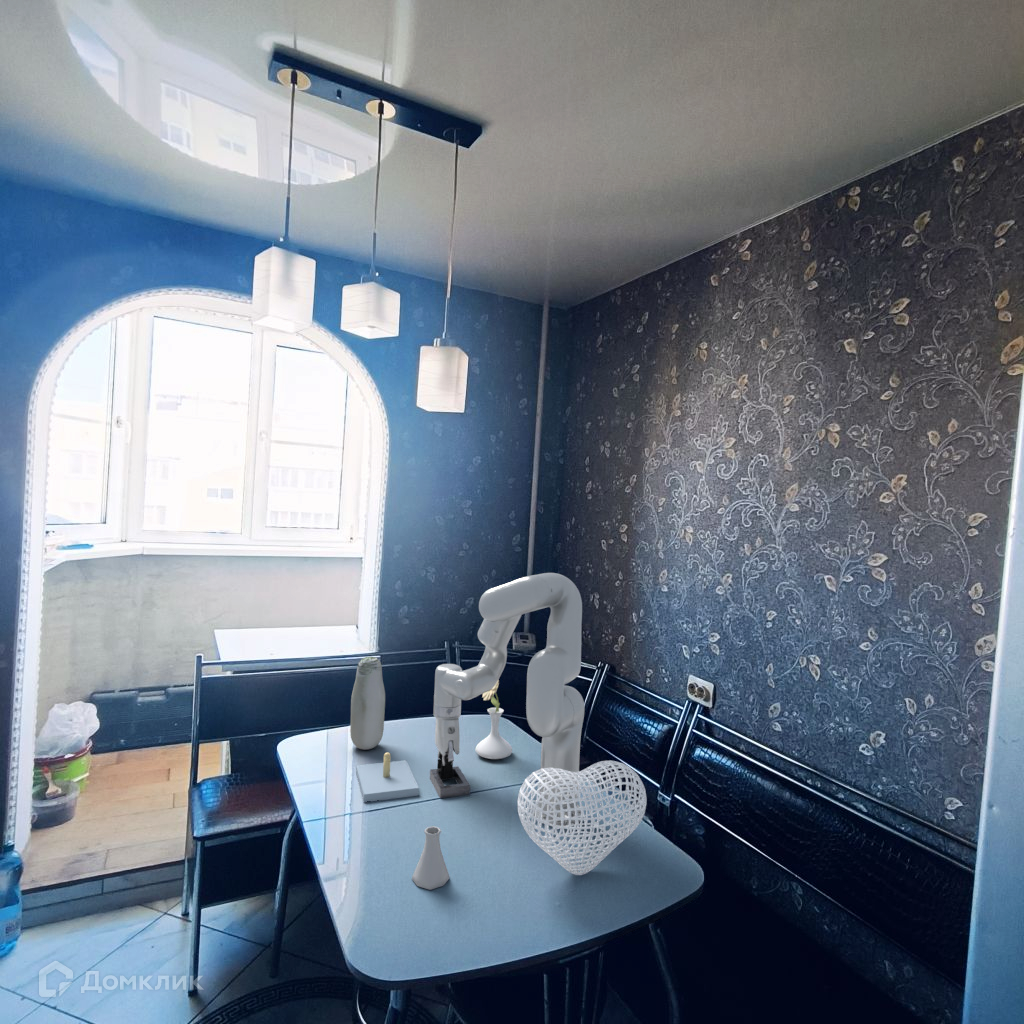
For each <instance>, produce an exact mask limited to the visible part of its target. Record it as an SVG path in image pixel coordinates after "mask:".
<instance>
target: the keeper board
mask: <svg viewBox="0 0 1024 1024" xmlns="http://www.w3.org/2000/svg"><path fill="white" fill-rule="evenodd" d="M411 770H412V769H411V768H410V766H409V763H408V761H407V760H405V759H403V760H396V761H391V753H390V752H385V753H384V754H383V762H377V763H366V764H359V765H358V764H357V765H355V774H356V775H355V776H356V779H357V778H358V779H357V783H358V782H359V783H358V786H360V787H359V790H360V794H361V797H363V798H362V801H364V802H363V803H368V802H367V801H371V802H377V800H379V801H385V800H387V801H388V800H395V799H402V798H410V797H418V796H419V791H420V787H419V784H418V783H417V781H416V779H415V776H414V775H413V774H414V773H413V771H411Z"/></svg>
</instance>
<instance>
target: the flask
mask: <svg viewBox="0 0 1024 1024" xmlns="http://www.w3.org/2000/svg"><path fill="white" fill-rule="evenodd" d="M441 833H442V829H440V827H439V826H435V825H432V826H427V827H426V828H425V829H424V835H425V839H424V840H425V841H424V846H423V849H422V852H421V855H420V857H419V860H418V863H417V864H416V867H415V869H414V871H413V873H412V876H411V880H412V881H413V883H414V884H415V885H416V887H419V888H424V889H426V890H430V891H431V890H434V889H437V888H440V887H444V886H445V885H446V883H447V882H448V880H449V879H451V876H450V874H449V871H448V868H447V865H446V863H445V858H444V855H443V852H442V848H441V843H440V836H441V835H440V834H441Z"/></svg>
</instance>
